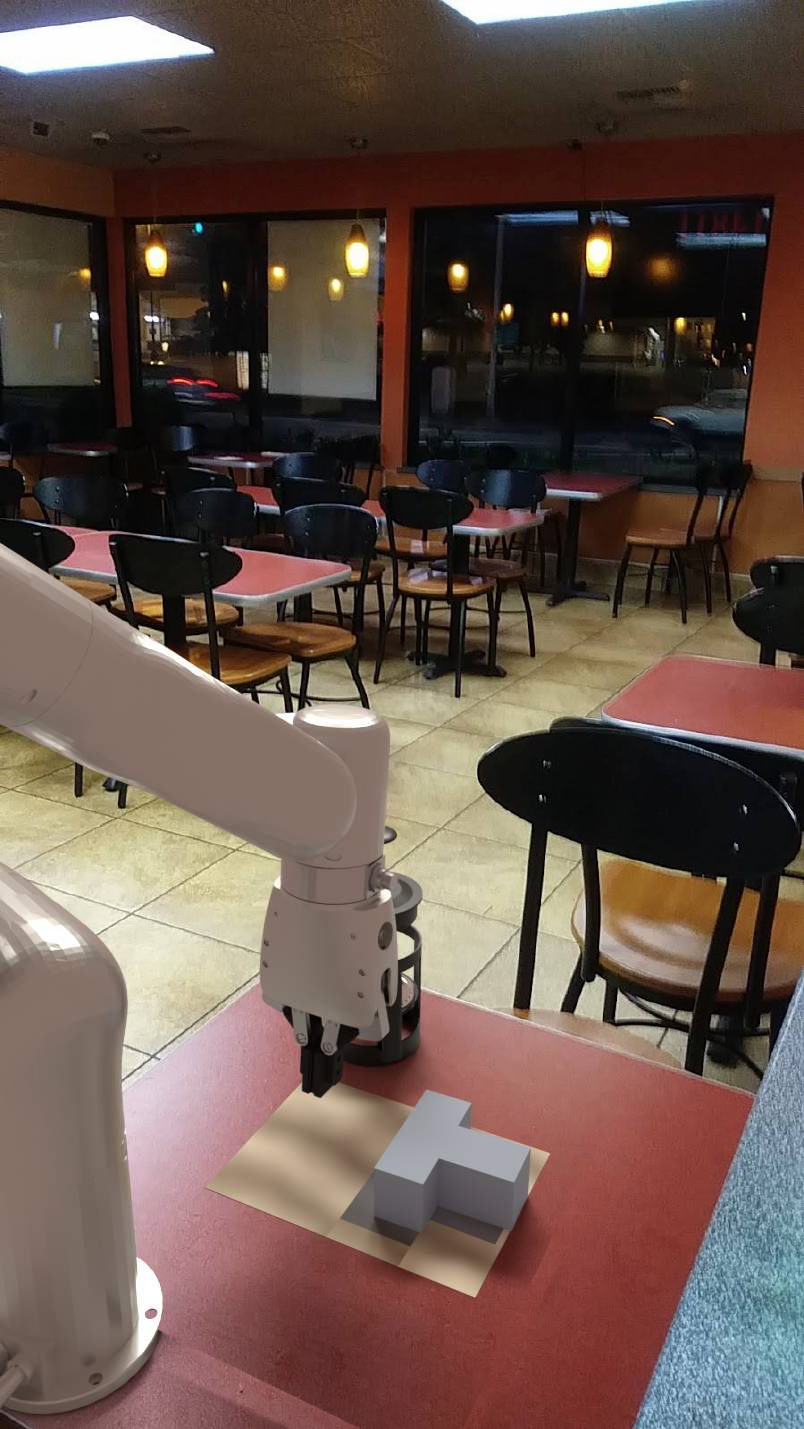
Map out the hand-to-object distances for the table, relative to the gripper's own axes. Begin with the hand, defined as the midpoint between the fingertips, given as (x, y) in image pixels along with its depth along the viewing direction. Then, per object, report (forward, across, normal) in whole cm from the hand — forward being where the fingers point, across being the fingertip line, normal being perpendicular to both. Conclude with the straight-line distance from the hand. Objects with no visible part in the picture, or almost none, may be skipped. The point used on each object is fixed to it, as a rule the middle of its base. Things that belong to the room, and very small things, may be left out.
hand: (320, 1085), depth 84 cm
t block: (+7, -11, -3) cm, 14 cm away
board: (+8, -5, -2) cm, 10 cm away
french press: (+8, +4, -17) cm, 19 cm away
